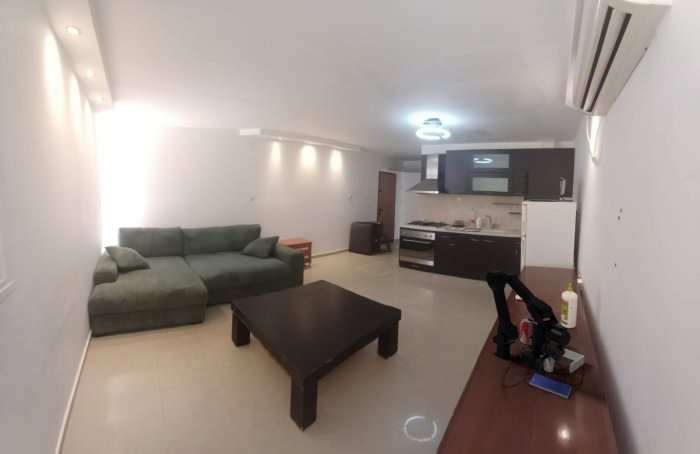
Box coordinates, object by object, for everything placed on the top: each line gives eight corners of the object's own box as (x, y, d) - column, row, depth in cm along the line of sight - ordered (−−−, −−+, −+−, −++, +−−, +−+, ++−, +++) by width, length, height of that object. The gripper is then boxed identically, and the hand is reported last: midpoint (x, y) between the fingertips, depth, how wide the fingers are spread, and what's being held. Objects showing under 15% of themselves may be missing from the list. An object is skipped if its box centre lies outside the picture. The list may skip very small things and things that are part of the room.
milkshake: (541, 365, 134) (542, 343, 133) (555, 370, 130) (557, 347, 129) (538, 369, 131) (539, 347, 130) (553, 374, 127) (554, 351, 126)
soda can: (521, 338, 160) (522, 316, 158) (536, 342, 155) (538, 319, 154) (518, 343, 154) (519, 320, 153) (534, 347, 150) (535, 324, 149)
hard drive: (529, 381, 121) (567, 395, 112) (535, 372, 127) (571, 385, 118) (529, 385, 121) (567, 399, 112) (535, 376, 127) (571, 389, 118)
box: (571, 372, 128) (572, 364, 128) (537, 358, 140) (537, 351, 139) (584, 363, 135) (584, 355, 135) (550, 350, 147) (551, 343, 146)
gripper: (550, 349, 113) (548, 389, 114) (572, 336, 123) (570, 373, 125) (520, 337, 122) (518, 374, 124) (543, 326, 132) (541, 361, 134)
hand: (538, 371), depth 126 cm, fingers closed
